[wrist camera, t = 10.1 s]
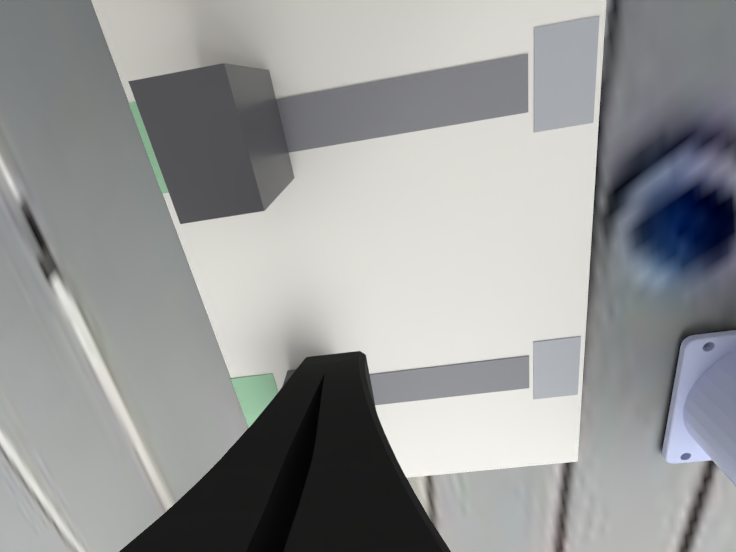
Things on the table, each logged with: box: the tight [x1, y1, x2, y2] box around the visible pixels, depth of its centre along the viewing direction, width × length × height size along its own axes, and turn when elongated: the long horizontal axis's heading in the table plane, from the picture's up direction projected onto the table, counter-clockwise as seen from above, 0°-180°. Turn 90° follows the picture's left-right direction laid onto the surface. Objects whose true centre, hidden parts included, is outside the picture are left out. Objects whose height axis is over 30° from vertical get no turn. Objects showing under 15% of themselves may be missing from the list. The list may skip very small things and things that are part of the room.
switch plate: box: [91, 0, 606, 478], centre depth 17 cm, size 16×24×2 cm, turn 9°
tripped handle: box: [128, 63, 294, 224], centre depth 13 cm, size 2×4×4 cm, turn 9°
